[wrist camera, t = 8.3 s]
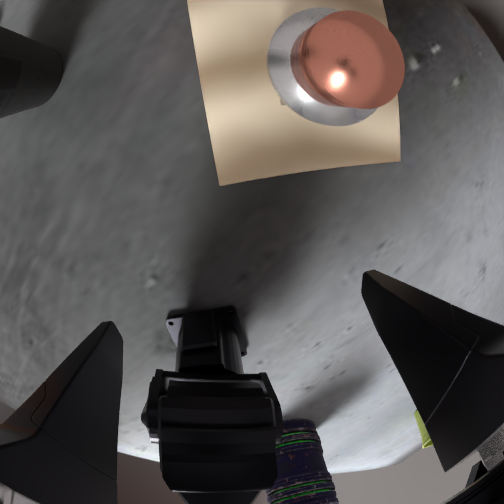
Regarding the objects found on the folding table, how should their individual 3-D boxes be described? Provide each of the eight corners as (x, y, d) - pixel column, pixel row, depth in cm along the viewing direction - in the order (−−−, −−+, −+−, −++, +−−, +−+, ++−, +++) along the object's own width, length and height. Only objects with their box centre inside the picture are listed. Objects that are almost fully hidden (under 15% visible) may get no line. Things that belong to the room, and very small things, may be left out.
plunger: (361, 118, 18) (425, 131, 11) (264, 126, 17) (294, 139, 11) (349, 26, 14) (409, 3, 8) (248, 27, 14) (270, -14, 8)
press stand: (393, 158, 21) (427, 173, 17) (219, 182, 20) (221, 202, 16) (374, -3, 14) (406, -18, 10) (187, -2, 13) (181, -28, 9)
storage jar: (253, 425, 37) (269, 515, 24) (318, 412, 38) (345, 497, 25) (258, 447, 42) (271, 521, 29) (312, 437, 42) (333, 507, 30)
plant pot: (420, 399, 44) (438, 432, 37) (450, 388, 46) (467, 416, 38) (400, 423, 48) (414, 453, 41) (429, 412, 50) (444, 438, 42)
